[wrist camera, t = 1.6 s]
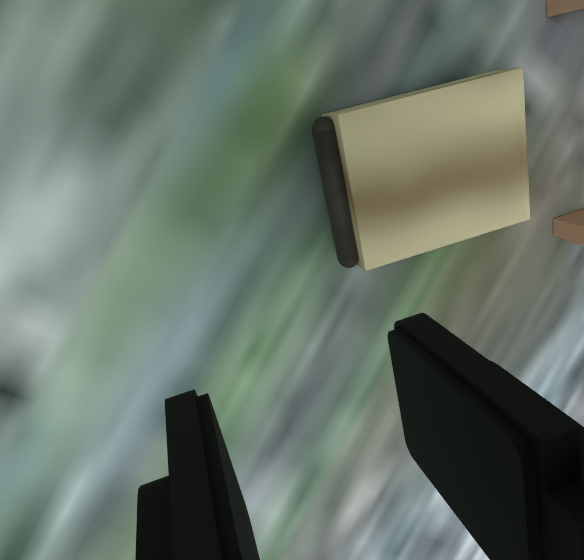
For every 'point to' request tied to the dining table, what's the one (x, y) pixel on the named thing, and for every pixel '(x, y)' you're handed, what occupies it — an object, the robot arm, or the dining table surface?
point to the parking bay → (580, 223)
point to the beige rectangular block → (425, 168)
